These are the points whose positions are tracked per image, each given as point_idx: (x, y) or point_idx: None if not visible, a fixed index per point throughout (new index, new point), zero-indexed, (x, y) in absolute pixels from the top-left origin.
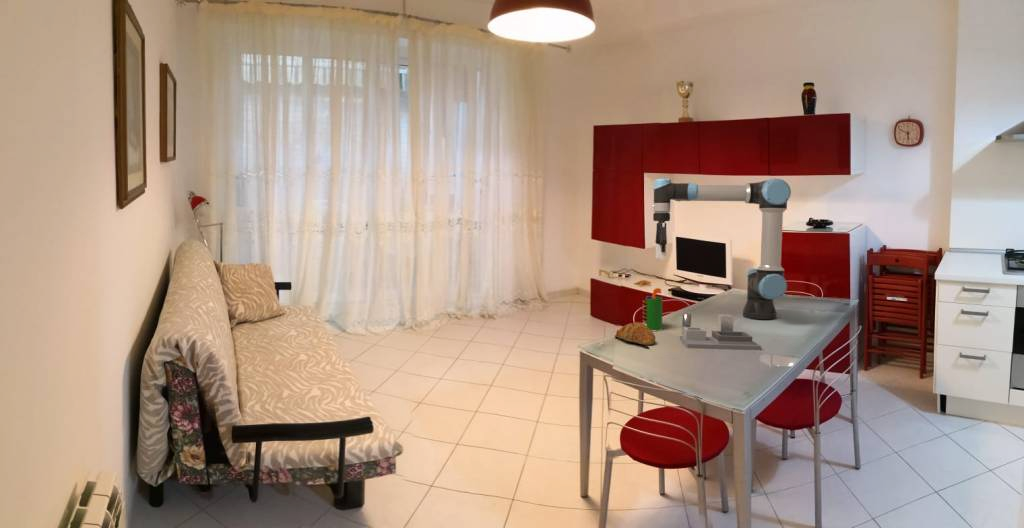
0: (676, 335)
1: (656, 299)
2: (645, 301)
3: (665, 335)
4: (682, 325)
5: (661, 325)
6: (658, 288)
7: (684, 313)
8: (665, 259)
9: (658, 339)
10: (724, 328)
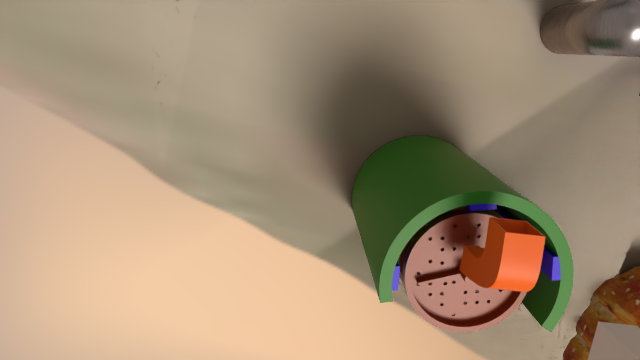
0: (516, 75)
1: (571, 260)
2: (499, 320)
3: (512, 139)
4: (591, 54)
5: (468, 156)
6: (532, 260)
7: (623, 38)
8: (636, 330)
9: (624, 207)
10: None
